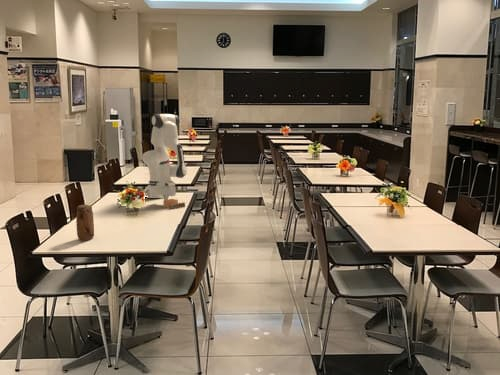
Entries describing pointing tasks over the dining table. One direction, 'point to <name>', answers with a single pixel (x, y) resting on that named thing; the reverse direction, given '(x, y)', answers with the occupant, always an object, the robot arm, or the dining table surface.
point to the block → (85, 222)
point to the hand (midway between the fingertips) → (165, 200)
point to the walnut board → (177, 205)
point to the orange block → (169, 202)
